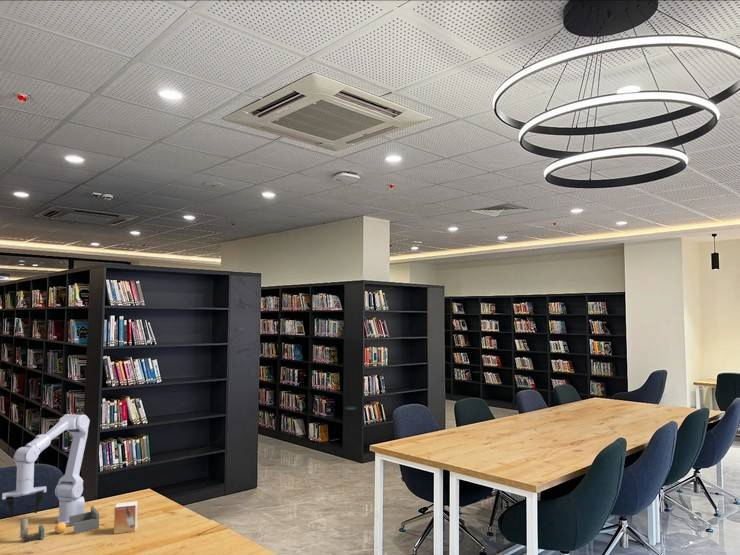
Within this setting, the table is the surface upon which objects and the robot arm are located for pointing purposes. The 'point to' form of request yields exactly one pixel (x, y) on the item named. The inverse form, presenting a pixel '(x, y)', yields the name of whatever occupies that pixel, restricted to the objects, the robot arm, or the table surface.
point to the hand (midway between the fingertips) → (23, 514)
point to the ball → (60, 527)
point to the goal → (85, 521)
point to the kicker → (25, 530)
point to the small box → (125, 517)
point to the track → (31, 538)
